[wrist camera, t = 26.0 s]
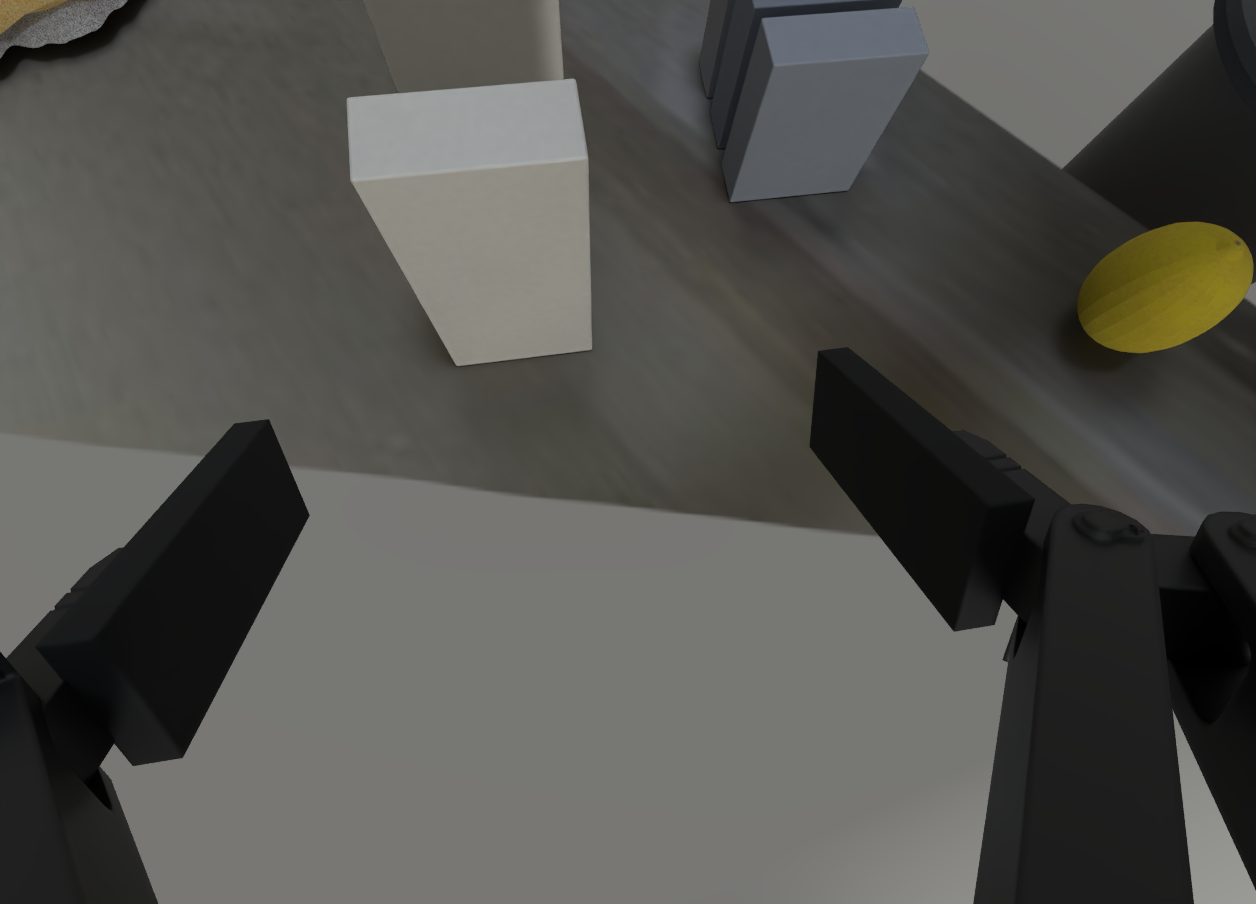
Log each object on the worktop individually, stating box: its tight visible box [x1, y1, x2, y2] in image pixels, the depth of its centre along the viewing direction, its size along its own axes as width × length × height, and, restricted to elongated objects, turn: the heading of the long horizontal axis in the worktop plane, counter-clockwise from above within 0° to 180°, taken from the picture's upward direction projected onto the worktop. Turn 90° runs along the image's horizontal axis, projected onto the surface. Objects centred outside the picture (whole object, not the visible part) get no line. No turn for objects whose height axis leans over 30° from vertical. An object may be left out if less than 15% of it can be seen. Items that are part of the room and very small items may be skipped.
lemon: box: [1077, 222, 1253, 353], centre depth 30 cm, size 6×6×8 cm
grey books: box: [699, 0, 929, 202], centre depth 32 cm, size 10×7×9 cm
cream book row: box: [363, 0, 564, 93], centre depth 28 cm, size 8×7×14 cm
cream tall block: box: [347, 79, 592, 366], centre depth 25 cm, size 3×7×14 cm, turn 99°
